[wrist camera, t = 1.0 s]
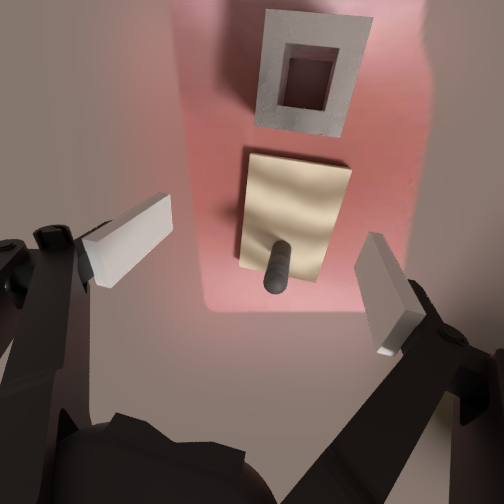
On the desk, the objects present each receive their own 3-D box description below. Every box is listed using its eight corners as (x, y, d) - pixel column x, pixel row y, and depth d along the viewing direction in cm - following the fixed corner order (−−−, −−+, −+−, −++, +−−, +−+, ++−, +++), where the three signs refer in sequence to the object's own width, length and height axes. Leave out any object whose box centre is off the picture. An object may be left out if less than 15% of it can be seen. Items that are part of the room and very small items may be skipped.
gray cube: (275, 32, 25) (265, 8, 20) (357, 39, 24) (373, 17, 19) (264, 122, 30) (254, 125, 24) (333, 132, 29) (340, 137, 23)
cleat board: (252, 152, 32) (227, 170, 22) (350, 167, 31) (369, 194, 21) (240, 261, 42) (220, 307, 32) (315, 277, 40) (317, 330, 30)
